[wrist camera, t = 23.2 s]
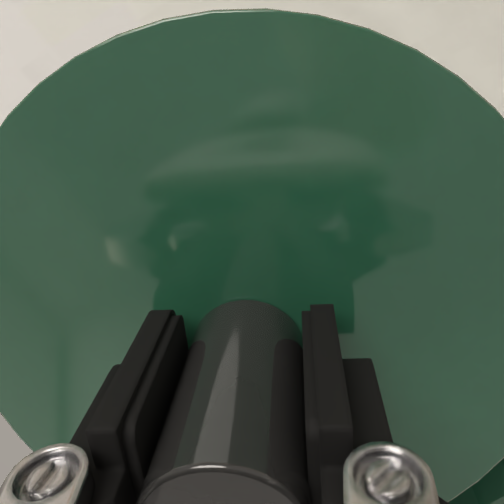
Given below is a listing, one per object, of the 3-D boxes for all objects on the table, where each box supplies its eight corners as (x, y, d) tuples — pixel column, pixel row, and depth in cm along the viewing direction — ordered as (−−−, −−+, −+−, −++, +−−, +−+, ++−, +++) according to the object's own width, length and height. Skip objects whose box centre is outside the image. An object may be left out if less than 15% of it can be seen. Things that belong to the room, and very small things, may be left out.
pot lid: (-108, 47, 11) (-543, 46, 5) (607, -26, 9) (1103, -142, 4) (56, 514, 17) (-63, 751, 11) (508, 519, 15) (636, 798, 9)
